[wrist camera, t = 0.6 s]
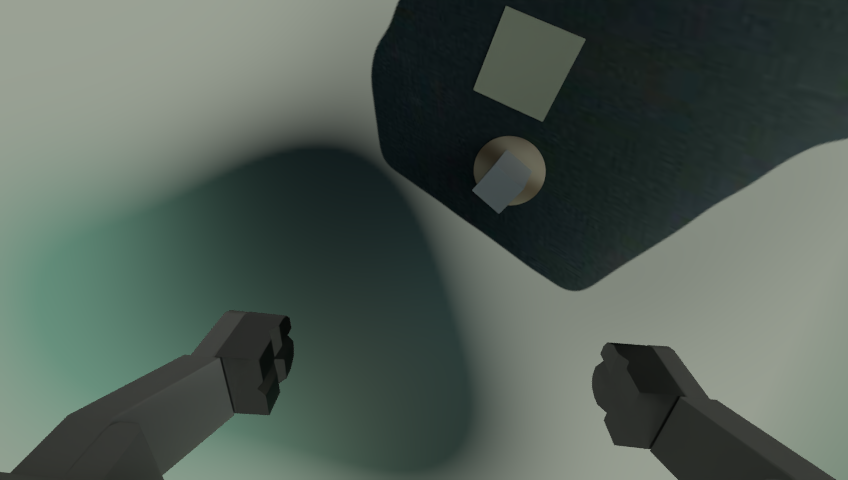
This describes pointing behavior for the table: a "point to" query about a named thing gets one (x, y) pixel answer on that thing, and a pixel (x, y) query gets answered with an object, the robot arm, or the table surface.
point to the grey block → (502, 181)
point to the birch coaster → (522, 152)
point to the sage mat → (527, 63)
